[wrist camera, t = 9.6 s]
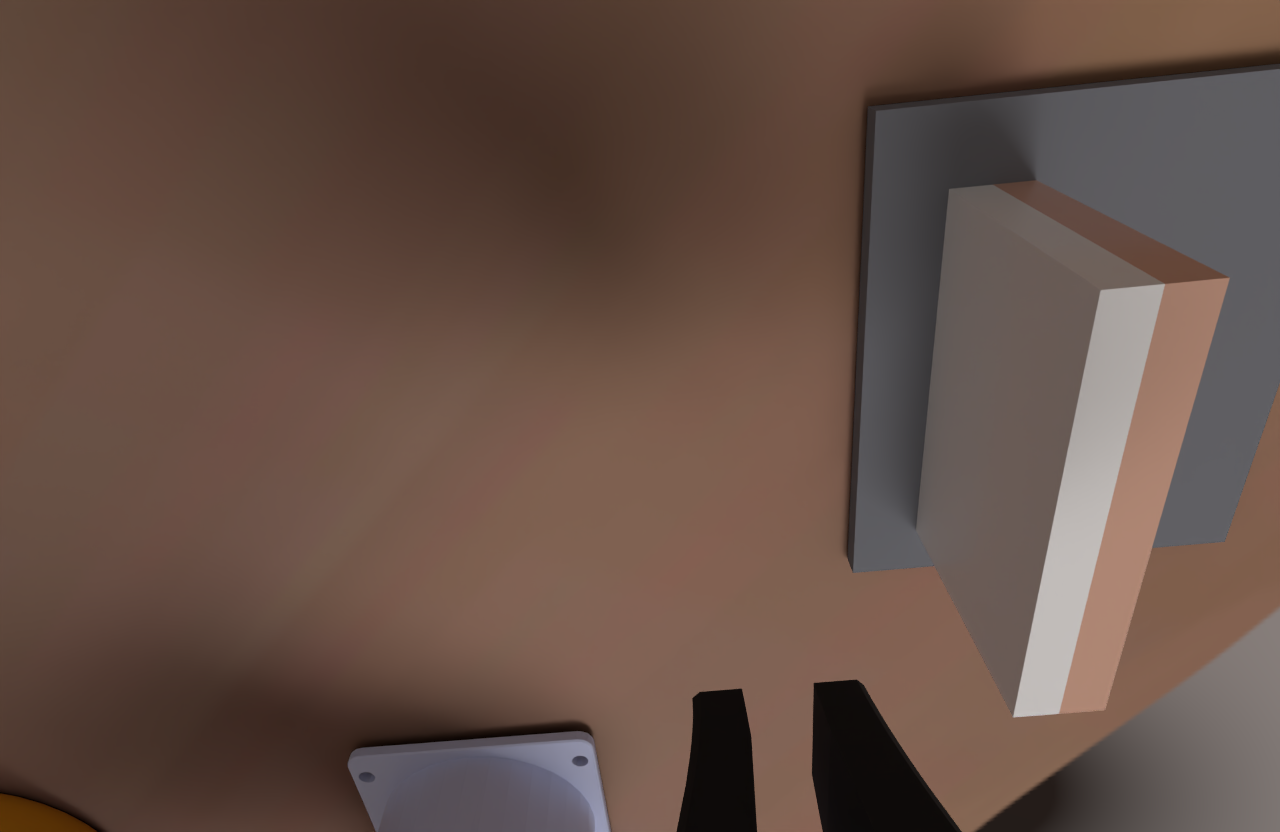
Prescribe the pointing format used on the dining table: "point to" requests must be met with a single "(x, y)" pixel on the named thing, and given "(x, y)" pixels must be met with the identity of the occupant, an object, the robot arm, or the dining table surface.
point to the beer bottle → (35, 817)
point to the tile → (1055, 430)
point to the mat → (1111, 184)
